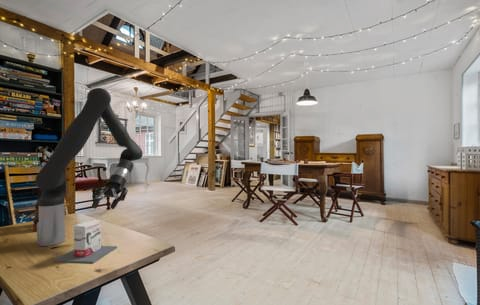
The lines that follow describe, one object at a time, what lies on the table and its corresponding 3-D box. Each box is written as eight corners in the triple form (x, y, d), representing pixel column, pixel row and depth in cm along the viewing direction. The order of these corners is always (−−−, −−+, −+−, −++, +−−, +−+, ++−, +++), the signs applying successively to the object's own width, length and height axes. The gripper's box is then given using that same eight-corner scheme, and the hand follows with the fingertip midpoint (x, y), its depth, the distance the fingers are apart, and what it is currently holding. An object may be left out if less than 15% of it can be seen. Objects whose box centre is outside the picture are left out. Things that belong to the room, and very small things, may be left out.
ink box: (84, 257, 90) (84, 226, 90) (73, 256, 91) (73, 226, 91) (101, 248, 99) (101, 219, 99) (91, 247, 99) (90, 219, 99)
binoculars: (34, 224, 134) (34, 189, 134) (53, 221, 139) (52, 187, 139) (32, 233, 120) (31, 193, 120) (52, 229, 125) (52, 191, 125)
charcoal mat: (53, 261, 88) (53, 259, 88) (82, 246, 102) (82, 245, 102) (93, 263, 87) (93, 261, 87) (117, 247, 101) (117, 246, 101)
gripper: (101, 173, 113) (83, 202, 102) (129, 173, 112) (114, 203, 100) (108, 183, 118) (92, 212, 107) (135, 183, 117) (121, 212, 106)
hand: (102, 207), depth 104 cm, fingers open, 8 cm apart
